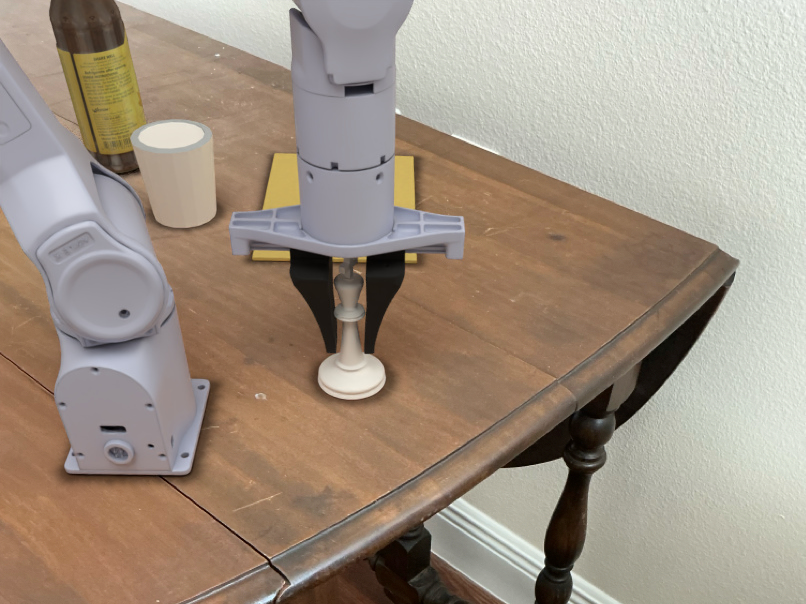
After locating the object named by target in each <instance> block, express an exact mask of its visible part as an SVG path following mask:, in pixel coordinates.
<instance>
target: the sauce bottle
mask: <svg viewBox="0 0 806 604" xmlns="http://www.w3.org/2000/svg"><path fill="white" fill-rule="evenodd" d="M48 17H49V22H50V25H51V28H52V29H51V30H52V32H53V36H54V38H55V47H56V51H57V54H58V58H59V60H60V65H61V68H62V73H63V75H64V79H65V83H66V86H67V90H68V94H69V97H70V100H71V104H72V108H73V111H74V115H75V118H76V122H77V125H78V129H79V132H80V136H81V139H82V140H81V141H82V143H83V144H84V146H85V147H86V149H87V150H88V152H89V153H90V154H91V155H92V157H93V158H94V159H95V160H96V161H97V162H98V163H99V164H101V165H102V166H103V167H105V168H106V169H108V170H110V171H112V172H113V173H115V174H123V173H129V172H132V171H135V170H137V169H138V168H139V165H138V162H137V159H136V156H135V152H134V149H133V146H132V143H131V139H130V137H131V135H132V134H133V132H134V131H135V130H136V129H138V128H140V127H141V126H143V125H146V124H148V123H147V119H146V115H145V110H144V109H145V108H144V105H143V101H142V97H141V92H140V87H139V83H138V78H137V74H136V70H135V65H134V61H133V58H132V53H131V50H130V49H131V48H130V45H129V38H128V35H127V31H126V27H125V23H124V20H123V19H122V18H123V17H122V13H121V11H120V7H119V6H118V4H117V2H116V1H115V0H50V1H49V8H48Z"/></svg>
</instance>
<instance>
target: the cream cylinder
mask: <svg viewBox="0 0 806 604" xmlns="http://www.w3.org/2000/svg"><path fill="white" fill-rule="evenodd" d="M130 139H131V143H132V146H133V149H134V152H135V156H136V159H137V162H138V165H139V167H138V168H139V171H140V175H141V178H142V181H143V185H144V188H145V192H146V195H147V198H148V201H149V205H150V208H151V211H152V214H153V216H154V218H155V221H156V222H157V223H159V224H161V225H162V226H165V227H169V228H173V229H190V228H195V227H199V226H202V225H204V224H207V223H209V222H210V221H211V220H213V219H214V218H215V217H216V214H217V210H218V209H217V208H218V207H217V195H216V194H217V192H216V191H217V190H216V174H215V155H214V154H215V153H214V135H213V132H212V130H211V128H210V127H209V126H207V125H206V124H203V123H201V122H200V121H195V120H191V119H185V118H184V119H181V118H178V119H177V118H169V119H162V120H155V121H152V122H149V123H147V124H146V125H143V126H141V127H140V128H138V129H136V130H135V131H134V132H133V134H132V135H131V137H130Z"/></svg>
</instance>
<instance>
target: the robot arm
mask: <svg viewBox="0 0 806 604" xmlns="http://www.w3.org/2000/svg"><path fill="white" fill-rule="evenodd" d="M291 1H292V2H293V3H294V5H295V6H296V7H297V8H298V9H297V8H296V7H291V8H290V9H288V20H289V34H290V46H291V61H290V78H291V89H292V102H293V103H292V105H293V117H294V118H293V119H294V131H295V133H294V134H295V145H296V146H295V147H296V148H295V149H296V154H297V165H298V179H299V193H300V204H299V205H292V206H286V207H279V208H273V209H266V210H263V209H259V210H249V211H248V210H247V211H232V213H231V216H230V220H229V224H228V234H229V240H230V248H231V254H232V256H243V257H244V256H249V255H250V254H251V251H254V250H266V251H290V261H289V270H288V273H289V277H290V280H291V282H292V284H293V287H294V288H295V289H296V290H297V291H298V292H299V294H300V295H301V297H302V298H303V300H304V301H305V302H306V304H307V306H308V307H309V309H310V312H311V314H312V315H313V317H314V319H315V321H316V323H317V326H318V329H319V331H320V333H321V336H322V340H323V344H324V348H325V353H326V354H333V355H334V354H336V353H337V348H338V338H339V337H338V336H339V335H338V319H337V318H336V317H335V315H334V310H335V307H336V300H335V293H334V283H333V281H334V265H333V263H334V262H333V257H338V258H358V257H365V256H366V262H365V316H364V335H363V337H364V338H363V352H364V354H370V355H374V354H375V353H376V352H375V350H376V342H377V338H378V335H379V331H380V328H381V325H382V322H383V319H384V317H385V315H386V313H387V311H388V308H390V307H389V306H390V305H391V303H392V301H393V299H394V298H395V297H396V295H397V293H398V291H400V289H401V287H402V284H403V282H404V279H405V275H406V263H405V253H417V254H430V255H431V254H435V255H437V254H438V255H444V256H445V259H447V260H463V259H464V250H465V249H464V248H465V238H466V228H465V218H464V216H462V215H448V214H439V213H434V212H428V211H424V210H418V209H415V210H414V209H409V208H404V207H399V206H394V170H395V169H394V168H395V156H396V111H397V110H396V108H397V105H396V104H397V103H396V101H397V64H396V48H397V47H396V46H397V44H396V42H397V39H396V38H397V35H398V32H399V30H400V29H401V27H402V26H403V25H404V23H405V22H406V21H407V18H408V16H409V14H410V12H411V10H412V8H413V4H414V1H415V0H291ZM0 209H1V211H2V213H3V215H4V217H5V219H6V221H7V224H8V225H9V227H10V229H11V231H12V233H13V235H14V237H15V239H16V241H17V243H18V245H19V247H20V248H21V250H22V252H23V253H24V255H25V256H26V257H27V258H28V259H29V260H30V262H32V264H33V265H34V266H35V268H36V269H37V270H38V272H39V274H40V275H41V277H42V281H43V283H44V286H45V291H46V297H47V300H48V305H49V312H50V316H51V319H52V322H53V325H54V328H55V331H56V334H57V337H58V341H59V347H60V367H59V370H58V374H57V376H56V377H57V378H56V381H55V384H54V390H53V397H54V404H55V406H56V409H57V412H58V414H59V417H60V420H61V422H62V425H63V428H64V430H65V433H66V436H67V438H68V441H69V445H70V449H69V451H68V454H67V457H66V459H65V462H64V465H63V466H64V470H65V472H66V473H68V474H70V475H72V474H73V475H74V474H75V475H137V476H138V475H146V476H148V475H149V476H155V475H156V476H186V475H188V474H189V473H191V471H192V467H193V463H194V459H195V455H196V451H197V447H198V442H199V437H200V433H201V429H202V425H203V419H204V416H205V411H206V407H207V403H208V398H209V394H210V389H211V382H210V380H209V379H207V378H192V377H191V373H190V368H189V363H188V359H187V353H186V349H185V343H184V339H183V334H182V330H181V325H180V324H181V323H180V318H179V315H178V309H177V305H176V300H175V294H174V290H173V288H172V286H171V285H170V283H169V281H168V278H167V275H166V273H165V270H164V267H163V266H162V263H161V262H160V261H159V260H158V257H157V254H156V250H155V248H154V244H153V240H152V238H151V235H150V232H149V229H148V225H147V215H146V211H145V208H144V205H143V203H142V200H141V198H140V196H139V194H138V192H137V191H136V190H135V188H134V187H133V186H132V185H131V184H130V183H129V182H128V181H127V180H125V179H124V178H123V177H122V176H120V175H119V174H118V173H113V172H112V171H110V170H108V169H106V168H105V167H103V166H102V165H101V164H99V163H98V162H97V161H96V160H95V159H94V158H93V157H92V155H91V154H90V153H89V152H88V150H87V149H86V147H85V146H84V143H83V141H82V140H81V139H80V138H79V137H78V135H76V134H74V133H73V132H72V131H71V130H69V129H68V128H67V127H65V126H64V125H63V124H62V123H61V122H60V120H59V119H58V117H57V116H56V115H55V113H54V112H53V111H52V109H51V108H50V106H49V105H48V104H47V102H46V100H45V99H44V98H43V96H42V95H41V93H40V92H39V91H38V89H37V88H36V86H35V85H34V83H33V82H32V81H31V79H30V78H29V76H28V75H27V74H26V72H25V71H24V69H23V68H22V66H21V65H20V64H19V62H18V61H17V59H16V58H15V57H14V55H13V54H12V52H11V51H10V50H9V48H8V47H7V45H6V44H5V42H4V41H3V39H2V38H1V37H0Z"/></svg>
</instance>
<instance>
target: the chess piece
mask: <svg viewBox="0 0 806 604" xmlns="http://www.w3.org/2000/svg"><path fill="white" fill-rule="evenodd" d="M343 259H344V262H341V264H339V266H338V274H337V275H336V276H334V277H333V287H334V290H335V291H336V293H337V296H338V298H339V299H338V300H339V301H340V303H338V304H337V305H335V310H334V315H335V317H336V318H337V320H339V321H341V322H342V329H341V340H340V349H339V352H336V354H334V353H333V354H332V355H330V356H328V357H326V358H325V359H324V360H323V361H322V362H321V364H320V365H319V367H318V372H317V373H318V375H317V382H318V386H319V387H320V389H322V391H323V392H324V393H326V394H328V395H329V396H331V397H334V398H336V399H339V400H341V399H342V400H349V401H353V400H354V401H355V400H356V401H357V400H363V399H367V398H369V397H372V396H374V395H376V394H377V393H378V392H379V391H381V390H382V389H383V388H384V386H385V384H386V381H387V375H386V372H385V371H386V370H385V367H384V363H382V362H381V360H379V359H378V358H377V357H376V356H375V355H373V354H364V351H363V349H362V343H361V337H360V332H359V325H358V321H361V320H362V319H363V318H365V316H366V308H365V307H364V305H363V304H361V303H360V302H359V300H360V297H361V293H362V291H363V288H364V285H365V278H364V277H363V276H362V275H361V274H359V273H358V272H354V267H355V266H356V265H357V264H358V263H359V262H358V258H343Z"/></svg>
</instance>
